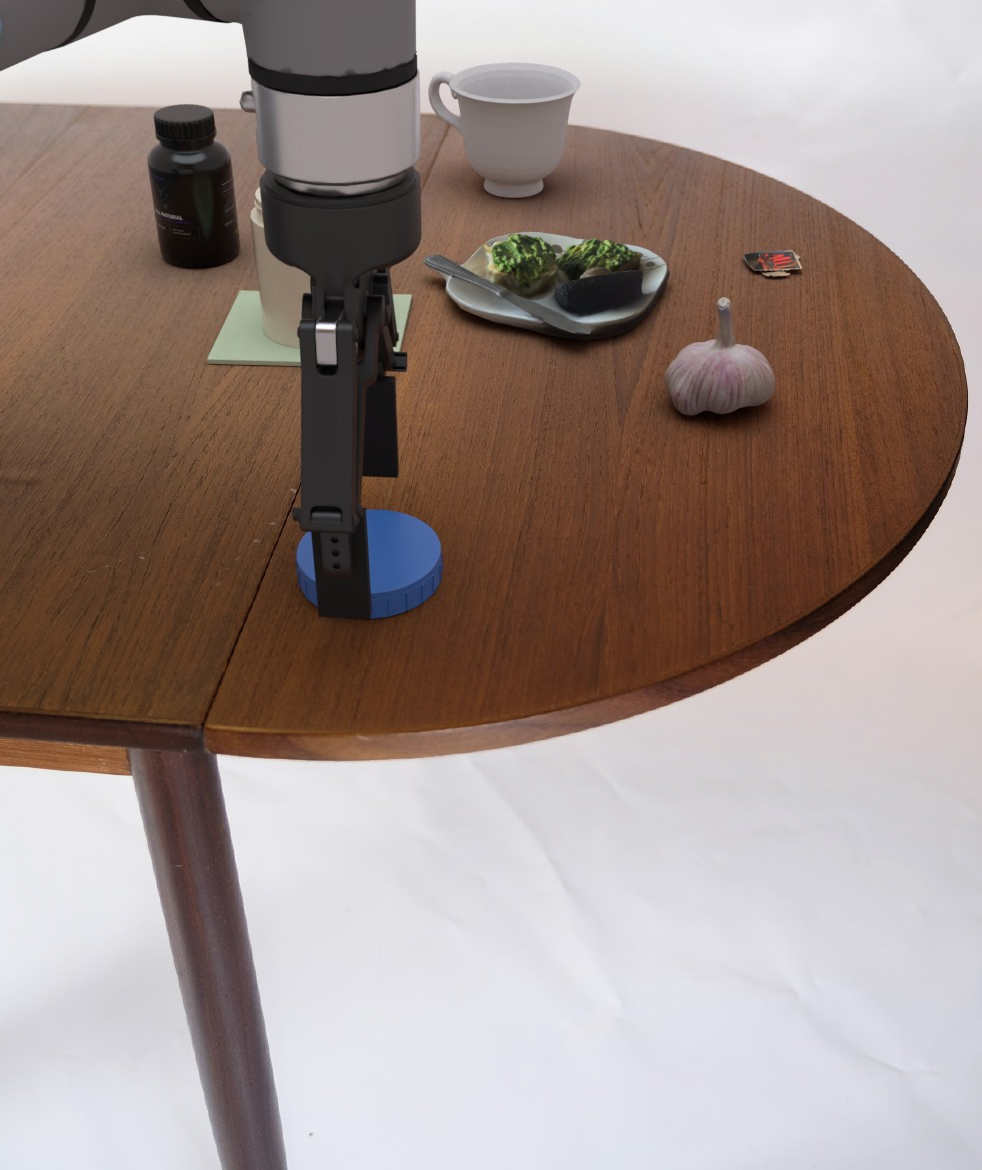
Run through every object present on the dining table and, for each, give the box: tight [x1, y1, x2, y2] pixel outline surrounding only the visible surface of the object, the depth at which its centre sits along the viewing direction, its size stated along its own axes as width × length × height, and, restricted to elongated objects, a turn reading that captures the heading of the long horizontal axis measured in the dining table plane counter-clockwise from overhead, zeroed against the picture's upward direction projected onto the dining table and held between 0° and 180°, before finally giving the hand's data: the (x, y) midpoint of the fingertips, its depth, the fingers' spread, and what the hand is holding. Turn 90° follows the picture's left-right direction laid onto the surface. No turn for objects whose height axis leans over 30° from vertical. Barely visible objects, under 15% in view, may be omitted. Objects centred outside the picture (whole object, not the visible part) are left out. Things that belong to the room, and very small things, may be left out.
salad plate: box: [423, 231, 671, 341], centre depth 103 cm, size 19×18×5 cm
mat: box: [206, 289, 413, 367], centre depth 99 cm, size 14×12×1 cm
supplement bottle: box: [146, 103, 241, 269], centre depth 107 cm, size 7×7×12 cm
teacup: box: [427, 62, 581, 199], centre depth 121 cm, size 12×15×10 cm
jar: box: [249, 186, 311, 348], centre depth 95 cm, size 8×8×10 cm
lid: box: [295, 509, 444, 620], centre depth 73 cm, size 8×8×2 cm
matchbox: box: [742, 249, 803, 278], centre depth 108 cm, size 5×5×1 cm
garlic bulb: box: [664, 296, 776, 416], centre depth 87 cm, size 8×7×8 cm
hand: (361, 539), depth 72 cm, fingers open, 13 cm apart
